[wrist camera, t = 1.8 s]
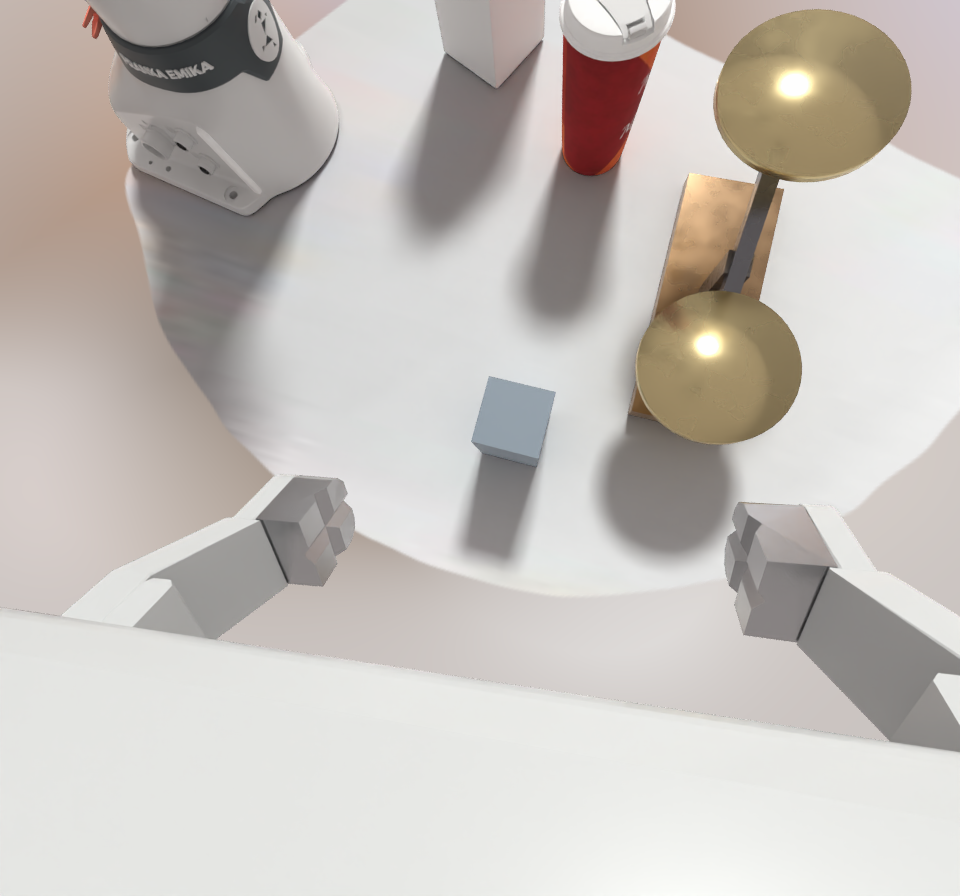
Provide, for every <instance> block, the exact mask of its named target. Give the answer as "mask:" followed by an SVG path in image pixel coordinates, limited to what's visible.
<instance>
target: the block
mask: <svg viewBox="0 0 960 896" xmlns="http://www.w3.org/2000/svg"><path fill="white" fill-rule="evenodd" d="M555 393H556V392H553V391H549V390H545V389H541V388H536V387H532V386H528V385H524V384H520V383H515V382H511V381H507V380H503V379H499V378H495V377H490V376H489V378H488V382H487V386H486V389H485V393H484V397H483V400H482V404H481V408H480V411H479V415H478V419H477V422H476V426H475V430H474V433H473V437H472V440H471V442H472V443H473V444H474V445H475V446H476V447H477V448H478V449H479V450H480V451H481V452H482V453H484V454H488V455H492V456H496V457H499V458H503V459H507V460H511V461H515V462H519V463H523V464H526V465H530V466H534V467H537V463H538V460H539V456H540V452H541V448H542V444H543V440H544V436H545V433H546V429H547V425H548V421H549V417H550V413H551V409H552V405H553V401H554V397H555Z"/></svg>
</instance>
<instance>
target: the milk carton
mask: <svg viewBox="0 0 960 896" xmlns="http://www.w3.org/2000/svg"><path fill="white" fill-rule="evenodd" d="M435 5H436V11H437V16H438V21H439V27H440V32H441V37H442V42H443V48H444V51H445V52H446V53H447V54H449V55H450V56H451V57H453V58H454V59H456V60H457V61H458V62H460V63H461V64H463V65H464V66H465V67H467V68H468V69H469V70H471V71H472V72H474V73H475V74H476V75H478V76H479V77H481V78H482V79H483V80H485V81H486V82H488V83H489V84H490V85H492V86H493V87H495V88H496V89H497V88H498V87H499V86H500V85H501V84H502V83H503V82H504V81H505V80H506V79H507V78H508V77H509V75H510V74H511V73H512V72H513V71H514V70H515V69H516V68H517V67H518V66H519V64H520V63H521V62H522V61H523V60H524V59H525V58H526V57H527V56H528V55H529V53H530V52H531V51H532V50H533V49H534V48H535V47H536V46H537V45H538V43H539V42H540V41H541V40H542V39H543V37H544V20H545V0H435Z"/></svg>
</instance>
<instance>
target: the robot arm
mask: <svg viewBox="0 0 960 896" xmlns="http://www.w3.org/2000/svg"><path fill="white" fill-rule="evenodd" d="M85 1H86V2H87V3H88V4H89V8H88V10H87V13H86V16H85V19H84V22H83V27H84V28H86V27H87V25H88V24H89V22H90V20H91V19H92V16H94V19H93V21H92V37H93V38H95V39H96V38H97V37H98V36H99V33H100V30H101V27H102V25H103V27H104V29H105V32H106V34H107V35H108V37H109V39H110V41H111V43H112V44H113V46H114V48H115V54H114V59H113V62H112V66H111V71H110V76H109V87H108V88H109V99H110V103H111V106H112V108H113V110H114V112H115V114H116V115H117V117H118V118H119V119H120V120H121V121H122V122H123V123H124V124H125V126H126V127H127V137H126V142H127V143H126V144H127V153H128V157H129V160H130V162H131V163H132V164H133V165H134V166H135V167H136V168H137V169H139V170H140V171H142V172H145V173H147V174H149V175H151V176H154V177H156V178H158V179H161V180H163V181H165V182H167V183H170V184H172V185H174V186H177V187H179V188H181V189H183V190H186V191H188V192H190V193H193V194H195V195H197V196H199V197H202V198H204V199H206V200H209V201H211V202H213V203H215V204H218V205H220V206H222V207H225V208H227V209H229V210H231V211H234V212H236V213H238V214H241V215H250V214H253V213H254V212H256V211H257V210H258V209H260V208H261V207H262V206H263V205H264V204H265V203H266V202H267V201H269V200H270V199H271V198H272V197H274V196H276V195H278V194H281V193H283V192H286V191H288V190H291V189H293V188H295V187H297V186H299V185H300V184H302V183H303V182H305V181H306V180H308V179H309V178H310V177H311V176H313V175H314V174H315V173H316V172H317V171H318V170H319V169H320V167H321V166H322V165H323V164H324V162H325V161H326V160H327V158H328V156H329V155H330V153H331V151H332V149H333V146H334V144H335V141H336V138H337V133H338V127H339V115H338V108H337V104H336V101H335V99H334V97H333V95H332V93H331V91H330V90H329V88H328V87H327V86H326V84H325V83H324V82H323V81H322V80H321V78H320V77H319V76H318V75H317V73H316V72H315V71H314V69H313V68H312V66H311V63H310V59H309V57H308V55H307V53H306V51H305V50H304V48H303V46H302V45H301V44H300V43H299V42H298V41H296V40H294V39H293V37H292V36H291V34H290V33H289V31H288V29H287V28H286V26H285V25H284V23H283V22H282V20H281V19H280V17H279V15H278V14H277V12H276V11H275V9H274V7H273V6H272V4H271V3H270V1H269V0H85ZM236 196H237V197H236ZM235 197H236V198H235ZM234 198H235V199H234ZM347 494H348V493H347V491H346V488H345V485H344V482H343V481H342V480H340V479H338V478H328V477H315V476H303V475H299V476H298V475H287V474H280V475H276V476H274V477H273V478H272V479H271V480H270V481H269V482H268V483H267V484H266V485H265V486H264V487H263V488H262V489H261V490H260V491H259V492H258V493H257V494H256V495H255V496H254V497H253V498H252V499H251V500H250V501H249V502H248V503H247V504H246V505H245V506H244V507H243V508H242V509H241V510H240V511H239V512H238V513H237V514H236V515H235V516H234V517H233V518H225V519H222V520H220V521H218V522H216V523H214V524H212V525H210V526H207V527H205V528H203V529H201V530H199V531H196V532H195V533H192V534H190V535H188V536H186V537H184V538H181V539H179V540H177V541H175V542H173V543H171V544H168V545H166V546H164V547H162V548H160V549H158V550H156V551H153V552H151V553H149V554H147V555H145V556H143V557H141V558H138V559H136V560H134V561H132V562H130V563H128V564H125V565H123V566H121V567H119V568H117V569H115V570H112V571H111V572H110V573H109V574H108V575H107V576H105V577H104V578H103V579H102V580H101V581H99V582H98V583H97V584H96V585H95V586H94V587H93V588H92V589H91V590H89V591H88V592H87V593H86V594H85V595H84V596H82V597H81V598H80V599H79V600H78V601H77V602H76V603H74V604H73V605H72V606H71V607H70V608H69V609H68V610H66V611H65V612H64V613H63V614H62V615H61V616H56V615H50V614H42V613H36V612H29V611H23V610H16V609H9V608H3V607H0V896H960V616H958V615H957V614H955V613H953V612H952V611H950V610H948V609H947V608H945V607H943V606H942V605H940V604H939V603H937V602H935V601H934V600H932V599H931V598H929V597H927V596H926V595H924V594H922V593H921V592H919V591H918V590H916V589H914V588H913V587H911V586H909V585H908V584H906V583H905V582H903V581H901V580H900V579H898V578H896V577H895V576H893V575H892V574H890V573H887V572H878V571H877V570H876V568H875V566H874V565H873V563H872V562H871V560H870V559H869V557H868V556H867V554H866V553H865V551H864V550H863V548H862V547H861V545H860V544H859V542H858V541H857V540H856V538H855V536H854V535H853V533H852V532H851V530H850V528H849V527H848V525H847V524H846V522H845V521H844V520H843V518H842V516H841V515H840V513H839V512H838V510H837V509H836V508H834V507H832V506H831V505H803V504H799V505H784V504H766V503H747V502H738V504H737V506H736V507H735V510H734V514H733V518H732V520H733V523H734V526H735V529H736V531H735V532H733V533H732V534H730V535H729V536H728V537H727V542H726V547H725V560H724V565H725V572H726V577H727V581H728V584H729V586H730V587H731V588H733V589H734V590H735V591H736V592H737V593H738V594H737V597H736V600H735V604H734V605H735V608H736V612H737V615H738V618H739V621H740V625H741V628H742V631H743V635H748V636H755V637H762V638H769V639H776V640H784V641H791V642H798V643H797V645H798V646H799V648H800V649H801V650H802V651H803V652H804V653H805V654H806V655H807V656H808V657H809V658H810V659H811V660H812V661H813V662H814V663H815V664H816V665H817V666H818V667H819V668H820V669H821V670H822V671H823V672H824V673H825V674H826V675H827V676H828V677H829V679H830V680H831V681H832V682H833V683H834V684H835V685H836V686H837V687H838V688H839V689H840V690H841V691H842V692H843V693H844V694H845V695H846V696H847V697H848V698H849V699H850V700H851V701H852V702H853V703H854V704H855V705H856V706H857V707H858V709H859V710H861V712H862V713H863V714H864V715H865V716H866V717H867V718H868V719H869V720H870V721H871V722H872V723H873V724H874V725H875V726H876V727H877V728H878V729H879V730H880V731H881V732H882V733H883V734H884V735H885V736H886V737H887V739H889V741H882V740H876V739H869V738H863V737H856V736H849V735H843V734H836V733H830V732H823V731H817V730H810V729H804V728H797V727H790V726H784V725H777V724H771V723H763V722H757V721H751V720H744V719H738V718H731V717H724V716H717V715H711V714H705V713H698V712H691V711H685V710H678V709H672V708H665V707H658V706H652V705H645V704H638V703H632V702H625V701H619V700H612V699H605V698H599V697H591V696H585V695H579V694H572V693H565V692H559V691H552V690H545V689H539V688H532V687H525V686H519V685H512V684H506V683H499V682H493V681H486V680H480V679H473V678H466V677H459V676H453V675H447V674H440V673H433V672H426V671H420V670H413V669H407V668H400V667H394V666H386V665H380V664H373V663H367V662H361V661H354V660H348V659H341V658H334V657H327V656H321V655H314V654H308V653H301V652H294V651H288V650H281V649H274V648H268V647H261V646H254V645H248V644H241V643H235V642H228V641H222V640H216V639H217V638H218V637H220V636H221V635H222V634H224V633H225V632H226V631H228V630H229V629H230V628H232V627H233V626H234V625H236V624H237V623H238V622H240V621H241V620H242V619H244V618H245V617H246V616H248V615H249V614H250V613H252V612H253V611H254V610H256V609H257V608H258V607H260V606H261V605H263V604H264V603H265V602H267V601H268V600H269V599H271V598H272V597H273V596H275V595H276V594H277V593H279V592H280V591H281V590H283V589H284V588H285V587H287V586H288V584H299V585H311V586H324V584H325V583H326V581H327V579H328V578H329V576H330V575H331V573H332V571H333V570H334V568H335V567H336V565H337V560H336V555H338V554H340V553H341V552H343V551H344V550H346V549H347V547H348V546H349V544H350V542H351V541H352V537H353V533H354V529H355V518H354V514H353V510H352V508H351V507H350V506H348V505H347V504H346V503H345V502H344V499H345V497H346V495H347Z"/></svg>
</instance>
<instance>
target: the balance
mask: <svg viewBox="0 0 960 896" xmlns="http://www.w3.org/2000/svg"><path fill="white" fill-rule="evenodd" d="M910 100H911V79H910V74H909V70H908V67H907V64H906V62H905V59H904V58H903V56H902V54H901V52H900V50H899V49H898V48H897V46H896V45H895V44H894V42H893V41H892V40H891V39H890V38H889V37H888V36H887V35H886V34H885V33H883V32H882V31H881V30H880V29H878V28H877V27H876V26H874V25H872V24H870V23H869V22H867V21H865V20H863V19H860V18H858V17H856V16H853V15H850V14H847V13H843V12H838V11H832V10H821V9H814V10H802V11H795V12H791V13H787V14H783V15H780V16H778V17H775V18H772V19H770V20H768V21H766V22H764V23H763V24H761V25H759V26H758V27H756V28H755V29H753V30H752V31H750V32H749V33H748V34H747V35H746V36H745V37H743V38H742V39H741V41H740V42H739V43H738V44H737V45H736V46H735V47H734V49H733V50H732V52H731V53H730V55H729V56H728V58H727V60H726V62H725V64H724V66H723V68H722V71H721V73H720V75H719V78H718V81H717V84H716V87H715V92H714V102H713V109H714V116H715V121H716V124H717V127H718V130H719V132H720V134H721V136H722V138H723V140H724V141H725V143H726V144H727V146H728V147H729V148H730V149H731V151H732V152H733V153H734V154H735V155H736V156H737V157H738V158H739V159H740V160H742V161H743V162H744V163H745V164H747V165H748V166H750V167H751V168H753V169H755V170H757V171H759V173H758V176H757V179H756V182H755V184H751V183H745V182H739V181H733V180H727V179H722V178H716V177H710V176H704V175H698V174H692V173H689V175H688V177H687V179H686V181H685V183H684V186H683V190H682V195H681V199H680V203H679V207H678V211H677V215H676V219H675V223H674V227H673V231H672V235H671V239H670V244H669V248H668V252H667V256H666V260H665V264H664V268H663V272H662V276H661V280H660V284H659V289H658V293H657V297H656V301H655V305H654V309H653V313H652V317H651V321H650V325H649V327H648V329H647V330H646V332H645V333H644V335H643V337H642V339H641V341H640V344H639V347H638V350H637V355H636V360H635V375H636V382H635V387H634V391H633V395H632V399H631V403H630V407H629V411H628V414H629V415H633V416H637V417H641V418H646V419H650V420H654V421H658V422H660V423H661V424H662V425H663V426H664V427H666V428H667V429H668V430H670V431H671V432H673V433H675V434H676V435H678V436H681V437H683V438H685V439H688V440H691V441H694V442H698V443H703V444H712V445H723V444H732V443H737V442H741V441H744V440H747V439H750V438H753V437H756V436H758V435H760V434H762V433H764V432H765V431H767V430H768V429H770V428H771V427H773V426H774V425H775V424H776V423H778V422H779V421H780V420H781V419H782V418H783V417H784V415H785V414H786V413H787V412H788V410H789V409H790V407H791V406H792V404H793V403H794V400H795V398H796V396H797V394H798V390H799V387H800V383H801V376H802V362H801V355H800V351H799V348H798V344H797V342H796V340H795V337H794V335H793V333H792V332H791V330H790V329H789V327H788V325H787V324H786V323H785V322H784V321H783V319H782V318H781V317H780V316H779V315H778V314H777V313H775V312H774V311H773V310H772V309H771V308H769V307H768V306H766V305H765V304H763V303H762V302H760V301H759V298H760V294H761V289H762V285H763V281H764V276H765V272H766V267H767V263H768V258H769V254H770V249H771V245H772V240H773V236H774V231H775V227H776V223H777V218H778V214H779V209H780V205H781V200H782V196H783V191H784V189H780V188H777V185H778V182H779V179H781V180H786V181H793V182H817V181H825V180H829V179H834V178H837V177H840V176H843V175H846V174H848V173H850V172H852V171H854V170H856V169H858V168H860V167H861V166H863V165H864V164H866V163H867V162H869V161H870V160H871V159H872V158H874V157H875V156H876V155H877V154H878V153H879V152H880V151H881V150H882V149H883V148H884V147H885V146H886V145H887V144H888V143H889V142H890V141H891V139H892V138H893V137H894V136H895V135H896V133H897V132H898V130H899V129H900V127H901V126H902V124H903V122H904V120H905V118H906V115H907V113H908V109H909V106H910Z"/></svg>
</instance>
